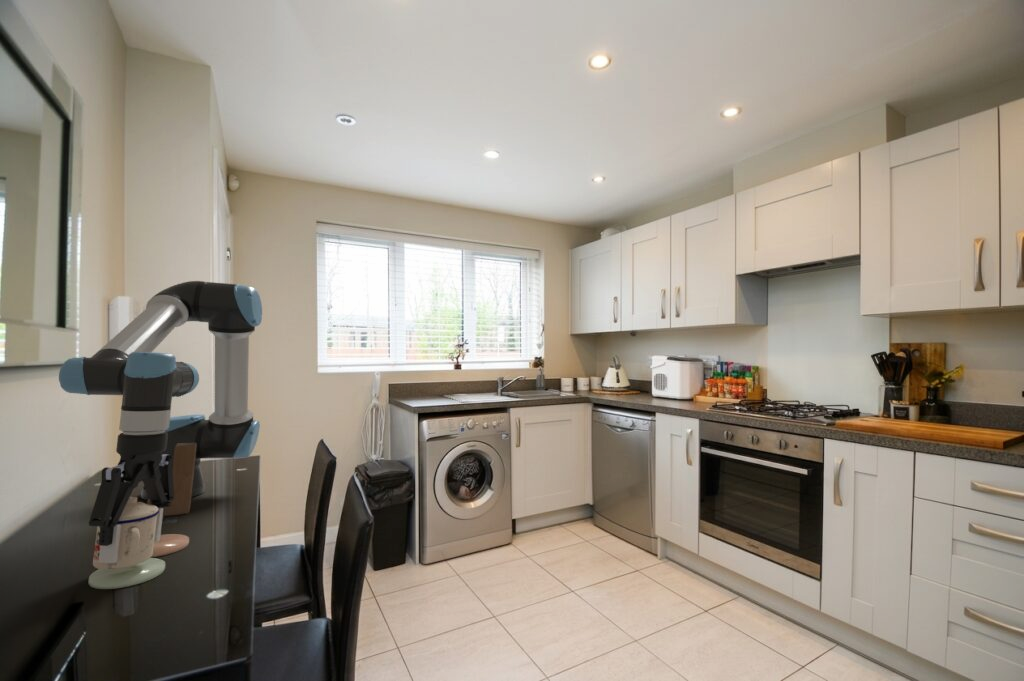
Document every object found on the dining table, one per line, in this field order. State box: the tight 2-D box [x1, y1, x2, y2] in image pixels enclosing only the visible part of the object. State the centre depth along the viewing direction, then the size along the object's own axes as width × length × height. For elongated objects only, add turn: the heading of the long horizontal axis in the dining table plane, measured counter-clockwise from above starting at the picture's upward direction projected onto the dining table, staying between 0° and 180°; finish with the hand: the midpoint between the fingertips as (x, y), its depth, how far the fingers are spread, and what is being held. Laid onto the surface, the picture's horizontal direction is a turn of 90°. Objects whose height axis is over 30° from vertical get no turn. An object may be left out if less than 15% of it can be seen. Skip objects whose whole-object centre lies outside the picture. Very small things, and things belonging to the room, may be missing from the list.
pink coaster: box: [150, 533, 190, 558], centre depth 96 cm, size 11×11×1 cm
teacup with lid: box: [92, 496, 159, 570], centre depth 84 cm, size 12×9×12 cm
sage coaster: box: [88, 557, 166, 590], centre depth 84 cm, size 11×11×1 cm
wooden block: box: [146, 443, 197, 517], centre depth 117 cm, size 9×4×18 cm, turn 122°
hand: (131, 550), depth 84 cm, fingers closed on teacup with lid, 9 cm apart
